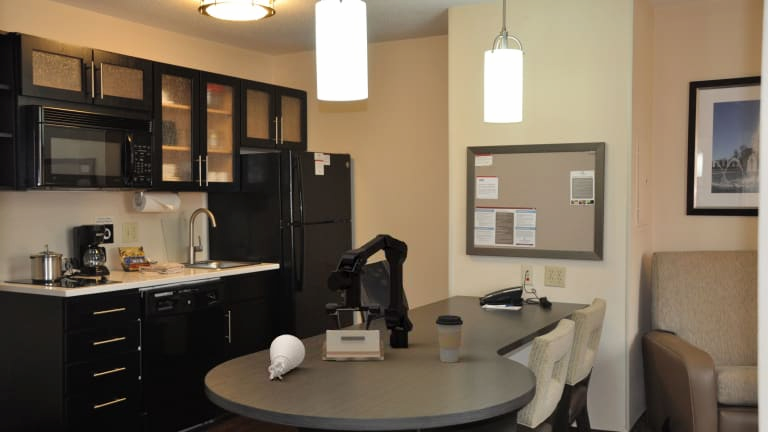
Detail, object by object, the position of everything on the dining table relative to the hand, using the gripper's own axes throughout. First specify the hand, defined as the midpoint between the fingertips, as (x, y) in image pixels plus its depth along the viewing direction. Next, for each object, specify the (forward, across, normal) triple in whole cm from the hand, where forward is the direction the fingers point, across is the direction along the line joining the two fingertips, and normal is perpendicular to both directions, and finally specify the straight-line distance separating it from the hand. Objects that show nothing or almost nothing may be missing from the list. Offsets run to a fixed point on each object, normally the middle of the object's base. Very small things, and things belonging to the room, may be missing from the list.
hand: (352, 333), depth 248 cm
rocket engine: (+10, +23, +18) cm, 31 cm away
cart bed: (+9, 0, -6) cm, 11 cm away
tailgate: (+8, 0, +2) cm, 8 cm away
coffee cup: (+9, -33, +1) cm, 34 cm away
